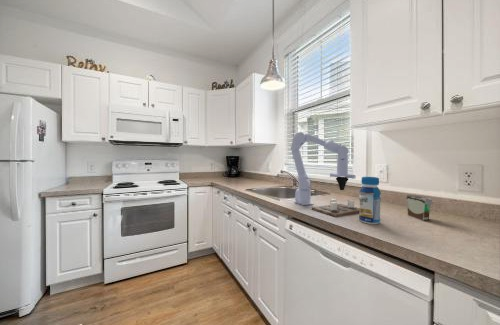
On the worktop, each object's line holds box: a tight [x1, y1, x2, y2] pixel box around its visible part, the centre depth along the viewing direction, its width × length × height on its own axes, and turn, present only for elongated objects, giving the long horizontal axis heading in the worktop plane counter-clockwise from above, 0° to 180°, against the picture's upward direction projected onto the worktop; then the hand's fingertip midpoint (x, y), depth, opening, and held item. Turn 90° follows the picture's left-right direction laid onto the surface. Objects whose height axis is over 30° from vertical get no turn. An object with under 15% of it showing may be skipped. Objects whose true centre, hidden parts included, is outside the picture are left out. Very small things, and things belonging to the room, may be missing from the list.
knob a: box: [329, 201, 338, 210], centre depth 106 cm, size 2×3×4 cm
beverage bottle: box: [358, 176, 382, 225], centre depth 92 cm, size 8×8×20 cm
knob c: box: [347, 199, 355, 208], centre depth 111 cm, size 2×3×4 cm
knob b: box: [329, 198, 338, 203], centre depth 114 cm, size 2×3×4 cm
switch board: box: [311, 203, 360, 218], centre depth 111 cm, size 16×22×2 cm
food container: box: [405, 194, 434, 222], centre depth 98 cm, size 12×6×10 cm, turn 179°
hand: (342, 190), depth 120 cm, fingers closed
